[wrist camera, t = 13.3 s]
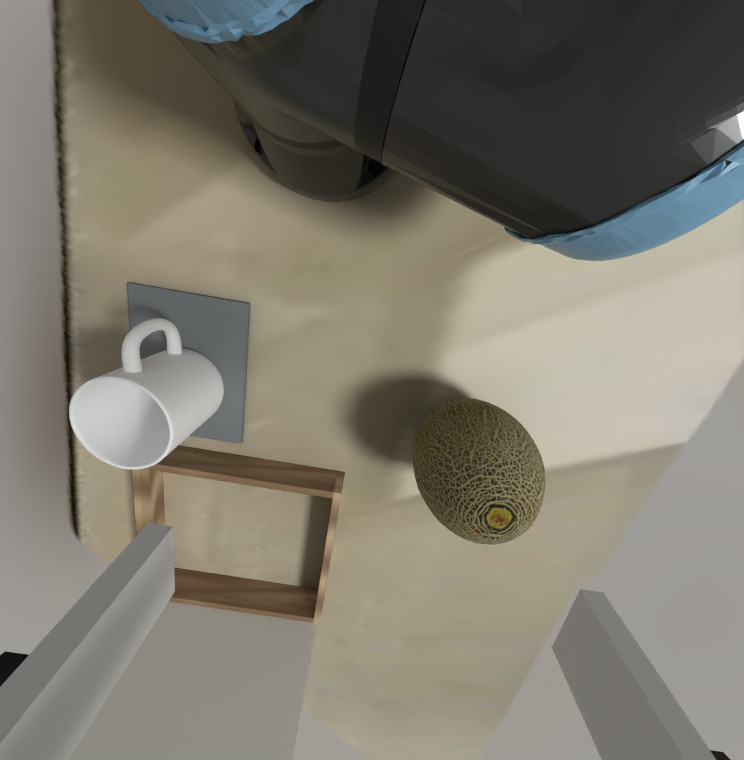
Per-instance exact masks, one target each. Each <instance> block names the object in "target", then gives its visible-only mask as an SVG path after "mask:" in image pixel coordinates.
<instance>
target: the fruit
mask: <svg viewBox="0 0 744 760" xmlns="http://www.w3.org/2000/svg"><path fill="white" fill-rule="evenodd" d="M413 467H414V474H415V478H416V482H417V486H418V489H419V491H420V493H421V495H422V497H423V499H424V501H425V502H426V504H427V506H428V508H429V509H430V510H431V512H432V513H433V515H434V516H435V517H436V518H437V519H438V521H439V522H440V523H442V524H443V525H444V526H445V527H446V528H448V529H449V530H450V531H452V532H453V533H455V534H456V535H458V536H460V537H462V538H464V539H466V540H469V541H472V542H475V543H480V544H490V545H492V544H500V543H504V542H508V541H511V540H513V539H515V538H517V537H518V536H520V535H521V534H523V533H524V532H525V531H527V530H528V529H529V528H530V527H531V525H532V524H533V522H534V521H535V519H536V517H537V515H538V513H539V511H540V508H541V505H542V502H543V497H544V490H545V469H544V465H543V461H542V458H541V455H540V453H539V450H538V448H537V446H536V445H535V443H534V441H533V439H532V438H531V436H530V435H529V433H528V432H527V431H526V429H525V428H524V427H523V426H522V425H521V424H520V423H519V422H518V421H517V420H516V419H515V418H514V417H513V416H511V415H510V414H508V413H507V412H506V411H504V410H503V409H501V408H499V407H497V406H495V405H492V404H490V403H488V402H485V401H481V400H477V399H455V400H451V401H449V402H447V403H445V404H443V405H441V406H439V407H438V408H436V409H434V410H433V411H431V412H430V413H429V414H428V415H427V416H426V417H425V419H424V420H423V421H422V423H421V424H420V426H419V428H418V430H417V433H416V436H415V441H414V451H413Z"/></svg>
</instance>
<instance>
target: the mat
mask: <svg viewBox="0 0 744 760" xmlns="http://www.w3.org/2000/svg"><path fill="white" fill-rule="evenodd" d="M127 287H128V303H129V320H130V330H131V329H133V328H134V327H135V326H137V325H139V324H140V323H142V322H144V321H147V320H150V319H156V318H163V319H166V320H169V321H171V322H172V323H173V324H174V325H175V326H176V327H177V329H178V331H179V334H180V338H181V344H182V349H188V350H192V351H195V352H198V353H200V354H201V355H203V356H205V357H206V358H207V359H209V360H210V361H211V362H212V363H213V364H214V365H215V367H216V368H217V369H218V371H219V373H220V375H221V377H222V380H223V385H224V395H223V400H222V402H221V404H220V406H219V408H218V409H217V411H216V412H215V413H214V414H213V415H212V416H211V417H210V418H208V419H207V420H206V421H205V422H204V423H203V424H202V425H201V426H199V427H198V428H197V429H196V430H195V431H194V432H193V433H192V434H190V436H197V437H203V438H209V439H215V440H221V441H228V442H234V443H240V444H241V443H242V442H243V432H244V413H245V393H246V374H247V355H248V336H249V317H250V303H246V302H240V301H234V300H229V299H223V298H217V297H211V296H206V295H200V294H194V293H188V292H182V291H177V290H171V289H165V288H159V287H154V286H148V285H142V284H136V283H127ZM165 350H167V339H166V335H165V333H164V331H163V330H158V331H155V332H152V333H151V334H149V335H148V336H146V337H145V338H144V339H143V340H142V342H141V344H140V358H141V360H142V359H144V358H147V357H149V356H152V355H154V354H157V353H159V352H162V351H165Z"/></svg>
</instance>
